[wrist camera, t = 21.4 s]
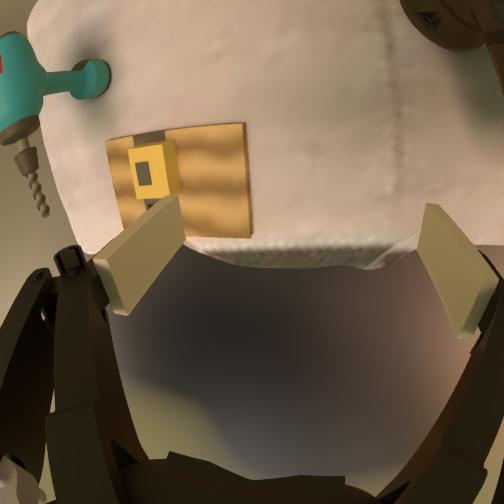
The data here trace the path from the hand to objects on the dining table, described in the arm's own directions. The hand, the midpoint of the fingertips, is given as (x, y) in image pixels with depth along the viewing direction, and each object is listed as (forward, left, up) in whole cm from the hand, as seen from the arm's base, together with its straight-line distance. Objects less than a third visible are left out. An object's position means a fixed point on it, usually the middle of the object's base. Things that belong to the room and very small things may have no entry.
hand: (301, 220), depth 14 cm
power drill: (-10, -34, -29) cm, 46 cm away
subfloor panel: (+6, -21, -29) cm, 36 cm away
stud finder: (+3, -22, -27) cm, 35 cm away
